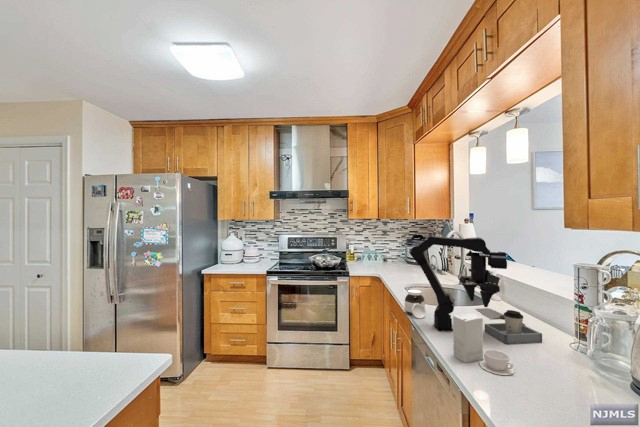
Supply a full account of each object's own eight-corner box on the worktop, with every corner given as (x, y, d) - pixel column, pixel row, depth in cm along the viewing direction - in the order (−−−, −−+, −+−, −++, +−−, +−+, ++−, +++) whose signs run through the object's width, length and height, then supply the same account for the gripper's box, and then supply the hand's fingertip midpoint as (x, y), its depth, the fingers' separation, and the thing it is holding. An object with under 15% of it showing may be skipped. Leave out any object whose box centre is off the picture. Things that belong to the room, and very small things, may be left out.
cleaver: (531, 329, 132) (531, 324, 132) (511, 330, 131) (511, 325, 131) (487, 309, 161) (487, 305, 161) (470, 310, 160) (470, 306, 160)
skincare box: (470, 352, 109) (469, 311, 110) (484, 359, 104) (483, 317, 104) (452, 355, 107) (452, 314, 107) (465, 363, 101) (465, 320, 101)
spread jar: (414, 310, 159) (414, 288, 159) (433, 315, 150) (433, 292, 150) (399, 314, 152) (399, 291, 152) (418, 320, 143) (418, 296, 143)
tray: (505, 344, 116) (505, 335, 116) (484, 331, 129) (484, 323, 129) (542, 342, 118) (542, 333, 118) (517, 330, 130) (517, 322, 130)
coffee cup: (528, 339, 119) (527, 314, 119) (511, 340, 118) (511, 315, 119) (515, 332, 126) (515, 309, 126) (499, 333, 125) (499, 309, 126)
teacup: (473, 365, 100) (473, 351, 100) (490, 358, 105) (490, 345, 105) (503, 379, 91) (503, 364, 91) (521, 371, 96) (520, 357, 96)
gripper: (512, 270, 118) (512, 310, 117) (482, 263, 136) (482, 297, 136) (486, 271, 117) (486, 311, 116) (459, 263, 135) (459, 298, 135)
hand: (478, 303), depth 126 cm, fingers open, 9 cm apart
